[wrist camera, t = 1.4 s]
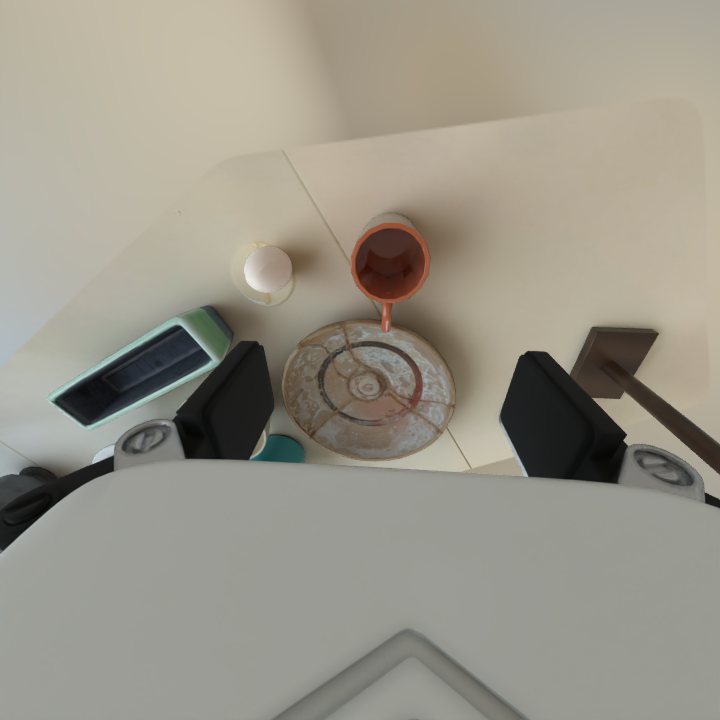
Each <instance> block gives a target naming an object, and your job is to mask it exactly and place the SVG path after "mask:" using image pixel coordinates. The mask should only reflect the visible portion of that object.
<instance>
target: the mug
mask: <svg viewBox="0 0 720 720" xmlns="http://www.w3.org/2000/svg"><path fill="white" fill-rule="evenodd" d="M429 266H430V255H429V252H428V248H427V244H426V242H425V240H424V239H423V237H422V236H421V234H420V233H419V231H418V230H417V228H416V227H415V226H414V225H413V223H412V222H411V221H410V220H409V219H408V218H406V217H404V216H402V215H400V214H397V213H384V214H381V215H379V216H377V217H375V218H373V219H372V220H371V221H370V222H369V223H368V224H367V225H366V226H365V227H364V229H363V230H362V232H361V234H360V236H359V238H358V240H357V242H356V245H355V248H354V250H353V253H352V255H351V273H352V276H353V278H354V281H355V283H356V285H357V287H358V288H359V289H360V290H361V291H362V292H363V293H364V294H365V295H366V296H367V297H368V298H371V299H373V300H375V301H378V302H381V303H382V320H381V330H382V331H383V332H384V333H388V332H389V331H390V330H391V318H392V303H397V302H400V301H403V300H406V299H408V298H410V297H411V296H412V295H414V294H415V293H416V292H417V291H418V290H419V289H420V288H421V287H422V285H423V283H424V282H425V280H426V278H427V276H428V274H429Z"/></svg>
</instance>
